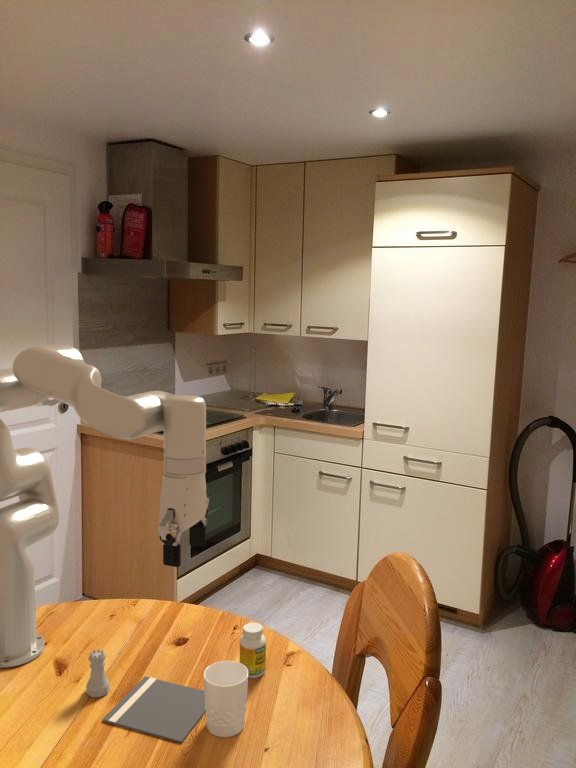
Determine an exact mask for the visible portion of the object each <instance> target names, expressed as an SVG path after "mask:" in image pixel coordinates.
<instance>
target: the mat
mask: <svg viewBox="0 0 576 768" xmlns="http://www.w3.org/2000/svg"><path fill="white" fill-rule="evenodd" d="M204 715H206V711H205V698H204V689H203V690H202V689H198V688H193V687H190V686H186V685H181V684H178V683H174V682H170V681H167V680H162V679H158V678H155V677H152V676H151V677H149V676H144V677H142V679H141V680H139V682H138V683H136V684H135V686H134V687H133V688H132V689H131V690H130V691H129V692H128V693H126V695H125V696H124V697H123V698H122V699H121V700H120V701H119V702H118V703H117V704H115V706H114V707H113V708H112V709H111V710H110V711H109V712H108V713H107V714H106V715H105V716H104V717H103V718H102V722H103V723H106V724H107V723H108V724H112V725H113V726H114V725H115V726H119V727H122V728H125V729H129V730H132V731H136V732H140V733H143V734H147V735H150V736H153V737H157V738H161V739H165V740H168V741H171V742H175V743H178V744H183V742H184V741H185V740H186V738H187V737H188V736H189V735H190V733H191V732H192V731H193V730H194V728H195V726H197V724H198V723H199V721H200V720H201V719H202V718H203V716H204Z"/></svg>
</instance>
